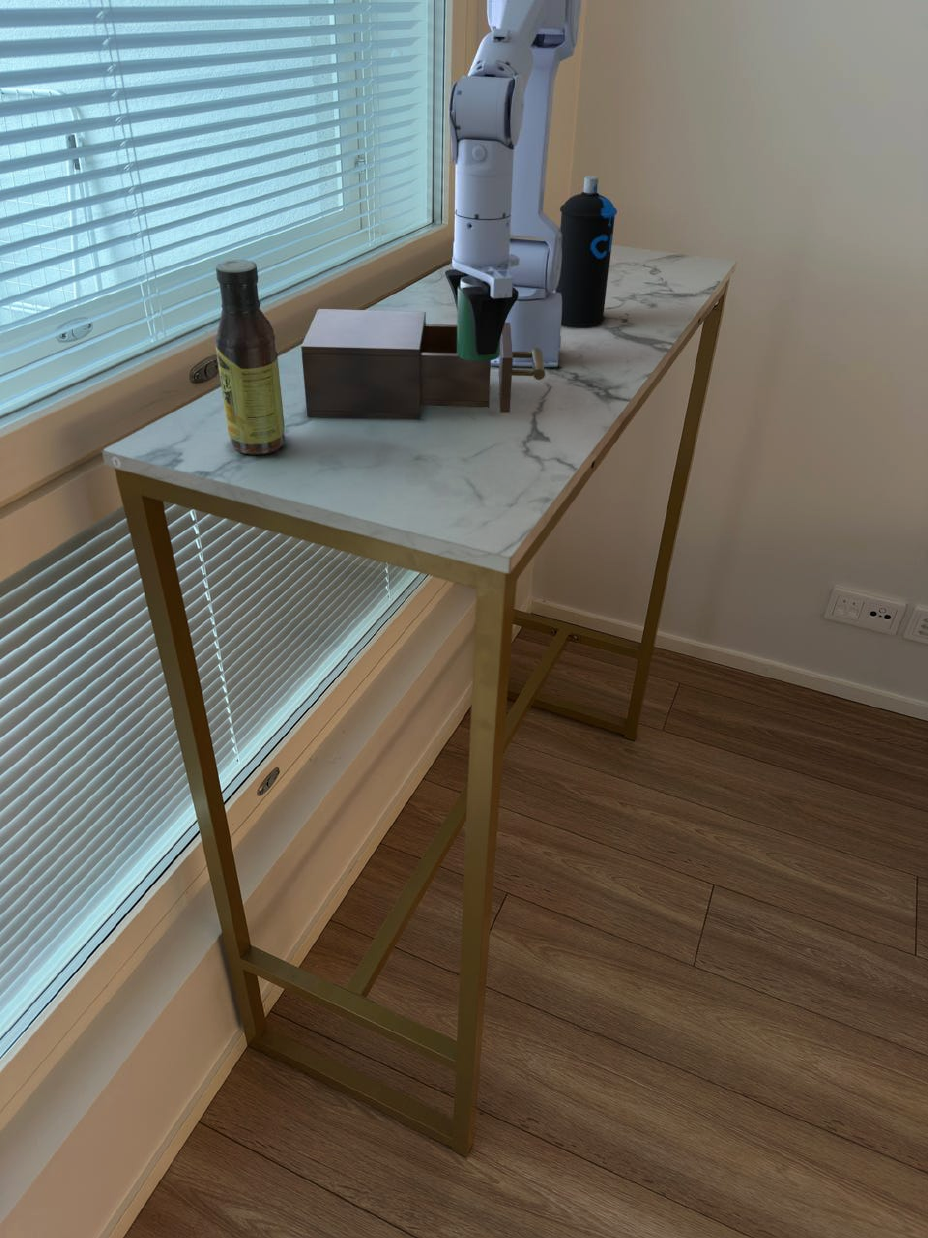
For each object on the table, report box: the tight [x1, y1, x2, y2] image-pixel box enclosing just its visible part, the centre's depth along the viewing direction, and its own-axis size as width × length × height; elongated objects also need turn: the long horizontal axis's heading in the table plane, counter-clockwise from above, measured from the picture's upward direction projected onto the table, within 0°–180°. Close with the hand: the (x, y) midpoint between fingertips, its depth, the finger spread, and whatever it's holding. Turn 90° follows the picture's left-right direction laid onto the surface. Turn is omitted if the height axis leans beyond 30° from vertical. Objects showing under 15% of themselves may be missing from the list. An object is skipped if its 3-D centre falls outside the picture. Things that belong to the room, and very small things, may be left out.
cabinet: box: [300, 308, 427, 421], centre depth 111 cm, size 14×14×9 cm
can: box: [456, 275, 501, 362], centre depth 98 cm, size 5×5×8 cm
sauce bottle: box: [214, 259, 286, 456], centre depth 96 cm, size 6×6×20 cm
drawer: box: [420, 323, 546, 414], centre depth 111 cm, size 17×12×7 cm
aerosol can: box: [554, 175, 618, 328], centre depth 134 cm, size 8×8×20 cm
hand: (478, 345), depth 100 cm, fingers closed on can, 5 cm apart
